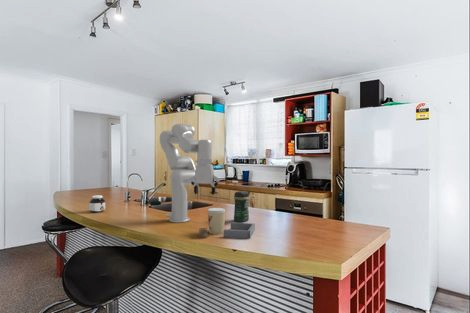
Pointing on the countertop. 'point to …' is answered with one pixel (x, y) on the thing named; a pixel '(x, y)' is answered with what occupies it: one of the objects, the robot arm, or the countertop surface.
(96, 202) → the spread jar
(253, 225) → the tray
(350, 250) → the countertop surface
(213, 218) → the coffee cup
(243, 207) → the coffee jar
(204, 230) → the walnut block
